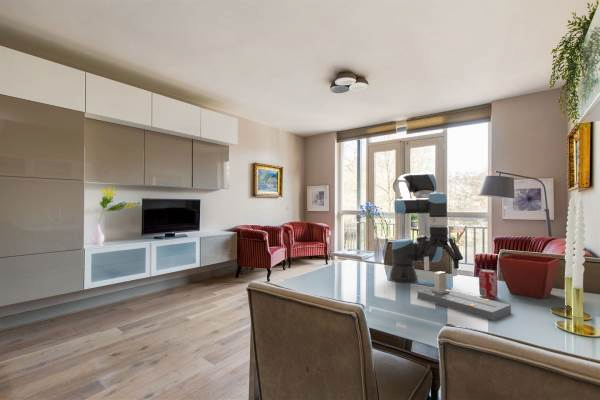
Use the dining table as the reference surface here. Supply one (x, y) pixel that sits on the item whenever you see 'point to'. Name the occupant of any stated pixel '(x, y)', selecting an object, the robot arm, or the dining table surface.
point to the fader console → (467, 303)
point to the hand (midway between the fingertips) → (440, 273)
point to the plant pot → (529, 274)
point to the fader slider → (440, 283)
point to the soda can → (488, 283)
